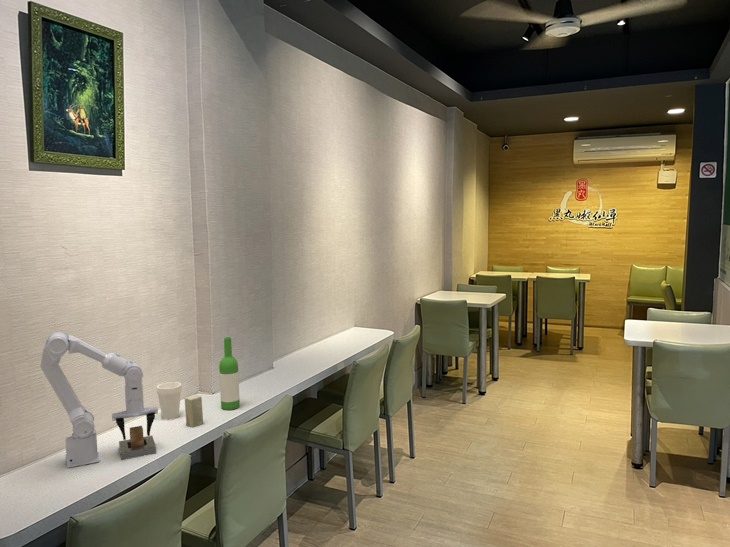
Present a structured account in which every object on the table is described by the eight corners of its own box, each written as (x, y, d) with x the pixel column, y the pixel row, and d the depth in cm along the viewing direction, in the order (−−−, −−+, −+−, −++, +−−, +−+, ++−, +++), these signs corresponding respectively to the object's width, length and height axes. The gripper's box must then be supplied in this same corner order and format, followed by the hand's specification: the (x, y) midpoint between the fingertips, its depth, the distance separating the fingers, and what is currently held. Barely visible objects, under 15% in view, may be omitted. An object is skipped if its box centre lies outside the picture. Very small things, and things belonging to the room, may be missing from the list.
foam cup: (173, 411, 234) (172, 380, 233) (187, 415, 229) (186, 384, 227) (153, 418, 226) (151, 386, 225) (167, 422, 221) (165, 390, 220)
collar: (121, 460, 187) (120, 452, 186) (119, 448, 197) (118, 441, 196) (156, 453, 192) (155, 446, 191) (152, 442, 201) (152, 435, 201)
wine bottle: (222, 411, 232) (219, 340, 229) (219, 406, 239) (216, 336, 236) (241, 409, 235) (238, 338, 232) (238, 403, 242) (235, 335, 239)
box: (197, 421, 221) (195, 394, 220) (203, 423, 219) (202, 396, 218) (185, 425, 217) (184, 397, 216) (191, 427, 215) (190, 399, 214)
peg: (131, 454, 191) (130, 431, 191) (130, 449, 195) (129, 427, 194) (144, 451, 193) (142, 429, 192) (143, 447, 197) (141, 425, 196)
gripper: (111, 405, 185) (114, 444, 187) (158, 398, 192) (160, 436, 193) (110, 399, 192) (113, 437, 193) (155, 392, 198) (157, 430, 200)
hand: (136, 436), depth 194 cm, fingers open, 7 cm apart
